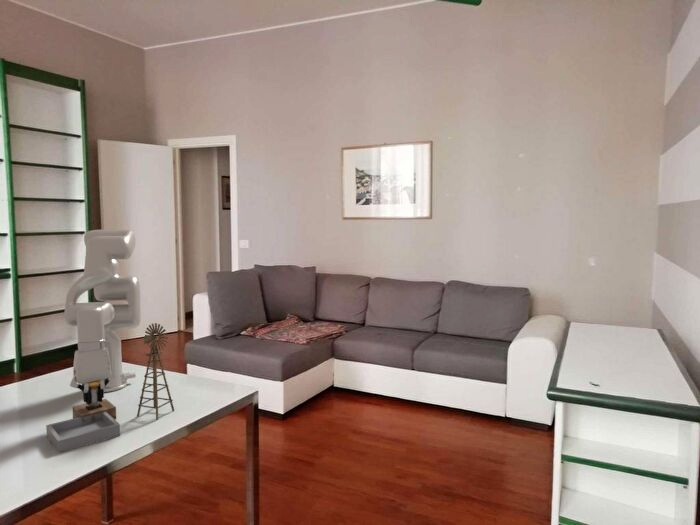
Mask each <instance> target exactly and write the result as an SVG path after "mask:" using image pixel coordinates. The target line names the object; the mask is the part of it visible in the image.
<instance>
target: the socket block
mask: <svg viewBox="0 0 700 525" xmlns="http://www.w3.org/2000/svg"><path fill="white" fill-rule="evenodd" d="M71 410H72V419H74V418H78V417H81V418H82V419H83V417H87V416H91V417H90V418H91V421H92V423H93V422H95V421H94V420H96V419H97V418H98V417H97V418H96V419H94V420H93V418H92V416H93V417H94V418H95V416H94V415H95V414H98V416H99V413H103V412H107V413H108V414H109V415H110V416H111V417H112V418H113V419H114V420H115V419H116V420H117V407H116V405H114V404H113V403H112V402H111V401H109V400H108V399H107V398H102V402H99V408H97V409H93V410H89V405H88V404H87V403H86V402H84V403H83V404H82V403H81V404H78V405H72V407H71ZM82 419H81V420H82ZM102 419H103V418H102ZM84 420H85V418H84ZM96 421H98V420H96ZM100 421H102V420H100ZM81 422H82V421H81ZM85 422H87V423H89V422H90V421H89V422H88V421H85ZM90 423H91V422H90Z"/></svg>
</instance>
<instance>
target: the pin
mask: <svg viewBox="0 0 700 525" xmlns="http://www.w3.org/2000/svg"><path fill="white" fill-rule="evenodd" d="M98 386H100V380H99V381H94V382H89V385H88V390H89V392H90V400H91V404H90V405H89V410H93V409H97V408H99V393H98Z"/></svg>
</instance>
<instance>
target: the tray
mask: <svg viewBox="0 0 700 525" xmlns="http://www.w3.org/2000/svg"><path fill="white" fill-rule="evenodd" d="M94 416H95V418H94V417H93V416H92V418H93V420H94V419H96V418H97V417H98V418H97V419H96V420H98V421H96V420H94V421H95V422H93V423H92V421H91V418H90V417H91V416H87V417H83V419H82V418H81V417H78V418H74V419H73V418H70V419H65V420H62V421H59V422H55V423H54V422H53V423H50V424H46V425H45V426H46V428H45V429H46V437H47V438H48V440H49V442H50V443H51V445H52V446H53V447H54V448H55V450H56V452H57V453H62V452H65V451H69V450H70V451H71V450H73V449H77V448H80V447H83V445H84V446H87V445H86V444H88V445H91V444H94V443H93V442H95V443H97V441H98V442H102V441H104V439H105V440H108V438H109V439H113V438H115V437H119V436H121V424H120V423H119V422H118V421H117V419H116V420H114V419H113V418H112V417H111V416H110V415H109V414H108V413H107V412H103V413H99V416H98V414H95V415H94ZM84 418H85V420H84ZM102 418H103V419H102ZM81 419H82V420H81ZM100 420H102V421H100ZM81 421H82V422H81ZM85 421H88V422H89V421H90V422H91V423H90V422H89V423H87V422H85ZM101 440H102V441H101ZM90 443H91V444H90ZM79 446H80V447H79ZM76 447H77V448H76Z"/></svg>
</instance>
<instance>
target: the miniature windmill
mask: <svg viewBox="0 0 700 525" xmlns="http://www.w3.org/2000/svg"><path fill="white" fill-rule="evenodd" d="M163 328H164V326H163V325H161V324H160V323H155V322H154V323H151V324H149V325H148V327H146V330H145V335H144V337H143V344H144V345H145V344H147V345H149V348H150V352H149V353H145V354H144V355H145V356H146V357H148V360H146V362H147V366H146V372H145V374H144V379H143V380H144V381H143V385H142V388H141V393H140V396H139V404H137V406H138V410H137V414H136V417H137V418H138V417H139V416H140V413H141V408H142V407H144V408H148V409H155V420H156V421H157V420H159V409H160V408H161V407H164V406H165V405H167V404H170V407H171V411H172V412H174V411H175V408H174V407H175V406H174V403H173V401H174V400H173V399H172V396H171V393H170V388H169V385H168V381H167V379H166V372H165V371H164V367H163V364H162V362H163V361H162V359H161V356H160V355H162V354H164V353H165V351H164V350H163V349H164V347H166V346H167V345H166V344H168V341H167V340H168V339H169V338H168V333H167V332H166V331H167V330H166V329H165V328H164V329H163ZM157 338H158V339H157ZM165 339H166V340H165ZM165 343H166V344H165ZM161 350H163V351H161ZM157 357H158V359H157ZM151 359H152V360H151ZM150 364H152V368H151V367H150ZM157 364H159V366H160V370H161V371H158V366H157ZM149 370H151V372H149ZM151 374H152V376H149V375H151ZM161 376H162V377H163V380H164V383H163V384H161V383H158V377H161ZM148 379H152V383H147V380H148ZM158 386H163V387H161V388H158ZM149 387H152V389H153V391H152V390H145V389H147V388H149ZM164 389H166V393H167V397H168V398H164V397H159V396H158V392H160V391H161V390H164ZM144 393H151V394H153V396H152V398H151V397H145V396H144V395H145V394H144ZM143 399H144V400H145V401H144V402H143ZM158 400H164V401H167V402H164V403H163V404H161V405H159V403H158V402H159V401H158ZM150 401H153V406H150V405H143V404H146V403H148V402H150Z"/></svg>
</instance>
